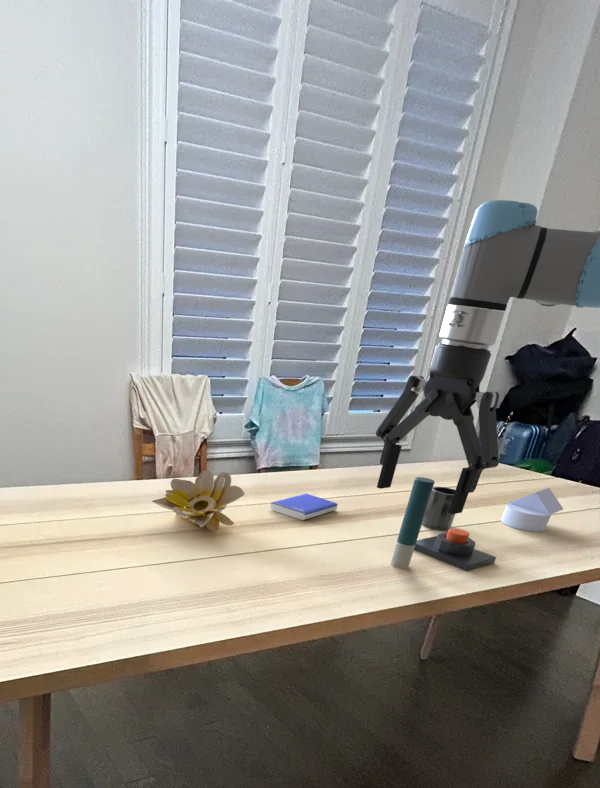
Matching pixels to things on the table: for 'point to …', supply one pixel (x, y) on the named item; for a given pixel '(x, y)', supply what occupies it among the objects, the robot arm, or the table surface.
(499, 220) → the robot arm
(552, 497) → the wedge on round base
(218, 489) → the decorative flower
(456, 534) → the power button
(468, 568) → the station
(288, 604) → the table surface
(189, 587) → the table surface
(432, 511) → the pen holder
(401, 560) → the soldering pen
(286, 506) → the hard drive
